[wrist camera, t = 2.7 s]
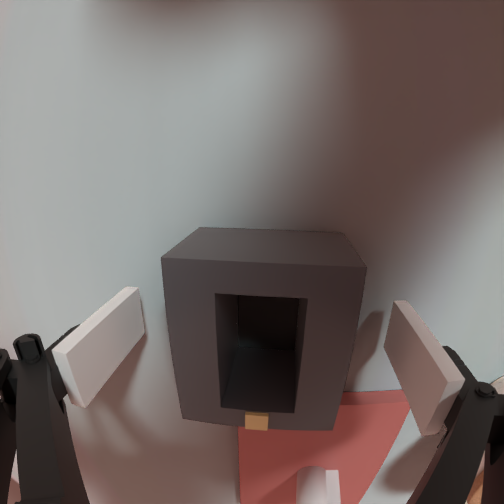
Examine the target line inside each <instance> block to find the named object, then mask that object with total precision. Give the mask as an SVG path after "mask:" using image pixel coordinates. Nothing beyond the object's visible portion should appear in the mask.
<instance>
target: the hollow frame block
mask: <svg viewBox="0 0 504 504" xmlns="http://www.w3.org/2000/svg"><path fill="white" fill-rule="evenodd" d="M161 264H162V276H163V287H164V297H165V306H166V315H167V323H168V331H169V339H170V346H171V353H172V360H173V366H174V372H175V378H176V384H177V390H178V396H179V401H180V407H181V412H182V417H183V419H189V420H195V421H201V422H207V423H214V424H222V425H230V426H239V427H245V429H252V430H264V431H267V429H277V430H304V431H333V428H334V424H335V421H336V417H337V413H338V410H339V406H340V402H341V398H342V394H343V390H344V386H345V382H346V378H347V374H348V369H349V365H350V360H351V356H352V351H353V346H354V341H355V336H356V331H357V326H358V320H359V315H360V309H361V303H362V297H363V290H364V283H365V276H366V269H367V267H366V265H365V264H364V262H363V261H362V260H361V258H360V257H359V255H358V254H357V252H356V251H355V250H354V248H353V247H352V245H351V244H350V243H349V241H348V240H347V239H346V237H345V236H344V234H343V233H333V232H313V231H291V230H266V229H239V228H207V227H199V228H198V229H197V230H195V231H194V232H193V233H192V234H190V235H189V236H188V237H186V238H185V239H184V240H182V241H181V242H180V243H179V244H177V245H176V246H175V247H173V248H172V249H171V250H170V251H168V252H167V253H166V254H165V255H163V256H162V257H161ZM238 295H250V296H268V297H288V298H299V308H298V320H297V331H296V341H295V350H274V349H258V348H245V347H238Z"/></svg>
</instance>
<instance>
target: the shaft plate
mask: <svg viewBox="0 0 504 504" xmlns="http://www.w3.org/2000/svg"><path fill="white" fill-rule="evenodd" d="M409 410H410V406H409V403H408V401H407V399H406V396H405V394H404V392H403V390H389V391H371V392H343V394H342V398H341V402H340V406H339V410H338V413H337V417H336V421H335V424H334V428H333V431H304V430H277V429H267V431H264V430H252V429H245V427H239V426H238V447H239V477H240V503H241V504H358V503H359V502H360V500H361V499H362V497H363V496H364V494H365V492H366V491H367V489H368V488H369V486H370V484H371V483H372V481H373V479H374V478H375V476H376V474H377V473H378V471H379V469H380V467H381V466H382V464H383V462H384V460H385V458H386V457H387V455H388V453H389V451H390V449H391V447H392V445H393V443H394V441H395V439H396V437H397V435H398V433H399V431H400V429H401V427H402V425H403V423H404V421H405V419H406V416H407V414H408V412H409Z"/></svg>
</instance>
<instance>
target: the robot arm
mask: <svg viewBox="0 0 504 504" xmlns="http://www.w3.org/2000/svg"><path fill="white" fill-rule="evenodd" d="M144 333H145V330H144V323H143V317H142V310H141V302H140V295H139V288H137V287H127V286H126V287H125V288H124V289H123V290H121V291H120V292H119V293H118V294H116V295H115V296H114V297H113V298H112V299H110V300H109V301H108V302H107V303H106V304H104V305H103V306H102V307H101V308H100V309H98V310H97V311H96V312H95V313H94V314H92V315H91V316H90V317H89V318H88V319H87V320H85V321H84V322H83V323H82V324H81V325H80V324H79V325H77V326H75V327H73V328H71V329H70V330H68V331H67V332H66V333H65V334H64V335H62V336H61V337H60V338H59V340H57V341H56V342H54V343H53V344H52V345H51V346H50V347H49V348H47V349H46V350H45V351H44V347H43V344H42V341H41V338H40V336H39V335H37V334H25V335H22V336H20V337H18V338H17V339H16V340H15V341H14V343H13V346H14V349H15V352H16V354H17V357H18V360H12V359H10V357H9V354H8V352H7V350H5V349H0V396H1V399H0V504H7V499H8V492H9V485H10V479H11V473H12V468H13V462H14V457H15V453H16V449H17V464H18V475H19V484H20V492H21V501H20V502H15V504H90V503H89V500H88V497H87V493H86V490H85V487H84V484H83V481H82V477H81V474H80V470H79V466H78V463H77V459H76V455H75V450H74V446H73V442H72V437H71V432H70V427H69V422H68V417H67V411H66V405H65V402H64V400H63V398H64V396H65V395H66V394H68V396H69V399H70V401H71V403H72V404H74V405H77V406H80V407H83V408H86V407H87V406H88V405H89V403H90V402H91V401H92V400H93V398H94V397H95V396H96V394H97V393H98V392H99V390H100V389H101V388H102V387H103V385H104V384H105V383H106V381H107V380H108V379H109V378H110V376H111V375H112V374H113V372H114V371H115V370H116V369H117V367H118V366H119V365H120V363H121V362H122V361H123V360H124V358H125V357H126V356H127V355H128V353H129V352H130V351H131V350H132V348H133V347H134V346H135V345H136V343H137V342H138V341H139V340H140V338H141V337H142V336H143V335H144ZM384 349H385V351H386V353H387V356H388V358H389V360H390V362H391V364H392V367H393V369H394V371H395V373H396V375H397V378H398V380H399V382H400V385H401V387H402V389H403V392H404V394H405V396H406V399H407V401H408V403H409V406H410V408H411V411H412V413H413V416H414V418H415V420H416V423H417V425H418V428H419V431H420V433H421V436H427V435H433V434H438V433H439V431H440V430H441V428H442V426H443V424H444V423H445V425H446V427H447V431H446V433H445V435H444V437H443V438H442V440H441V442H440V443H439V445H438V447H437V448H438V449H437V451H436V453H435V455H434V457H433V459H432V461H431V463H430V465H429V466H428V468H427V470H426V472H425V474H424V475H423V477H422V479H421V481H420V482H419V484H418V486H417V487H416V489H415V491H414V492H413V494H412V495H411V497H410V499H409V500H408V502H407V503H406V504H465V502H466V500H467V497H468V495H469V493H470V490H471V488H472V485H473V483H474V480H475V477H476V475H477V472H478V469H479V466H480V463H481V460H482V457H483V454H484V451H485V458H484V476H483V488H482V497H481V504H504V394H498V393H497V391H496V389H495V388H494V387H493V386H492V385H490V384H488V383H485V382H477V380H476V379H475V377H474V376H473V375H472V373H471V372H470V370H469V369H468V368H467V366H466V365H465V364H464V362H463V361H462V360H461V358H460V357H459V356H458V354H457V353H456V352H455V351H454V350H452V349H451V348H450V347H448V346H441V344H440V343H439V342H438V340H437V339H436V338H435V336H434V335H433V334H432V332H431V331H430V330H429V328H428V327H427V326H426V324H425V323H424V322H423V320H422V319H421V318H420V317H419V315H418V314H417V313H416V311H415V310H414V309H413V308H412V306H411V305H410V304H409V303H408V301H394V302H393V307H392V312H391V317H390V321H389V326H388V330H387V335H386V339H385V343H384Z"/></svg>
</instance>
